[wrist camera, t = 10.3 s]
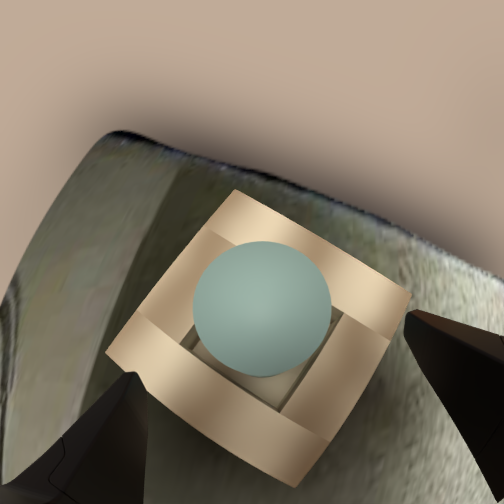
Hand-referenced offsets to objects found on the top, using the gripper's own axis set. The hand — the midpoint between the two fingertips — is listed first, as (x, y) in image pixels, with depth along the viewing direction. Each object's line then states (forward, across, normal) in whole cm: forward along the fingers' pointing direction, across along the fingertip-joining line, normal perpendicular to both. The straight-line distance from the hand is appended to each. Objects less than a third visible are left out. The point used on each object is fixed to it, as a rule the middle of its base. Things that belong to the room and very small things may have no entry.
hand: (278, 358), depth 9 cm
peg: (+9, 0, +6) cm, 10 cm away
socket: (+9, 0, +6) cm, 11 cm away
